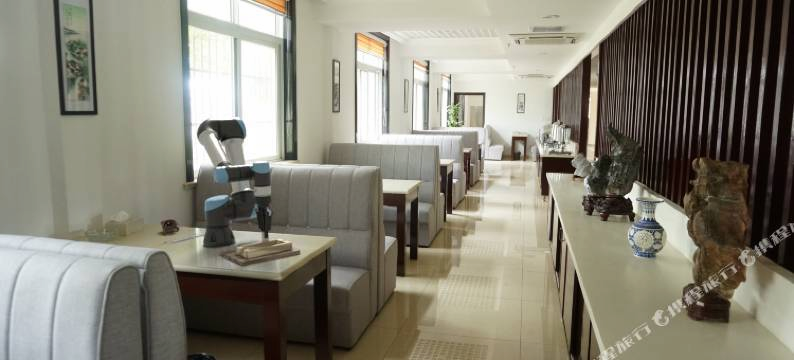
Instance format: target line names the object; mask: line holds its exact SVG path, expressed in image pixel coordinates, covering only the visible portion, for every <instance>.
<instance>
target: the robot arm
mask: <svg viewBox="0 0 794 360" xmlns="http://www.w3.org/2000/svg"><path fill="white" fill-rule="evenodd" d="M246 137H247V127H246V124H245V122H244V120H242V118H240V117H233V116H231V117H230V116H229V117H210V118H207V119H205V120H203V121H202V122H201V123H200V124H199V126H198V128H197V131H196V139H197V140H198V142H199V144H200V145H201V146H203V147H204V149H205V152H206V153H207V155H208V157H209V160H210V162H211V163H212V165H213V167H214V168H213V171H212V177H213V181H214V182H215V183H217V184H226V183H227V184H228V183H231V187H232V192H231V193H230V196H229V195H227V194H223V195H222V194H221V195H216V196H212V197H209V198H207V199H205V200H204V208H203V210H204V218H205V231H204V234H205V235H204V234H203V235H204V236H203V239H202V245H203V246H204V247H206V248H207V247H208V248H219V247H227V246H231V245H234V244H235V243H236V237H235V234H234V232H233V229H232V227H231V225H232V224H231V222H233V221H234V222H235V221H242V220H250V219H254V218H256V220H257V226H258V229H259V230H260V232H261V242H262V241H267V240H270V237H269V232H270V231H272V219H273V217H272V216H273V214H274V213H273V212H274V211H273V210H270V204H271V203H272V185H271V184H272V183H271V168H270V162H269V161H267V160H265V161H264V160H262V161H261V160H259V161H254V162H252V163H247V164H246V162H245V161H246V160H245V155H244V151H243V149H244V148H243V143H244V142H245V139H246ZM223 147H224V148H223ZM250 181H253V189H252V188H251V187H250Z"/></svg>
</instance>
